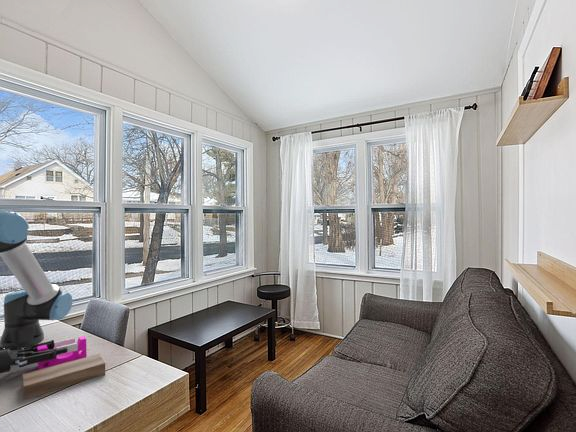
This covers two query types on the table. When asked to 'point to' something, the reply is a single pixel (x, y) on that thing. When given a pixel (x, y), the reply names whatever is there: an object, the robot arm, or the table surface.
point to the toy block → (64, 355)
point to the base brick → (62, 375)
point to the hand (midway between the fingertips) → (75, 343)
